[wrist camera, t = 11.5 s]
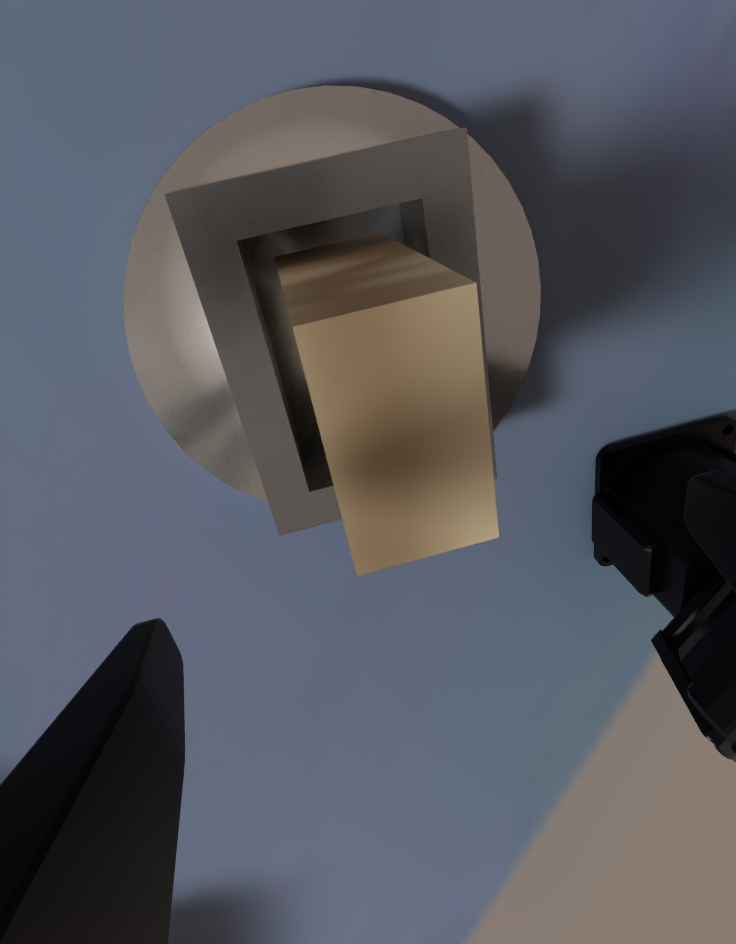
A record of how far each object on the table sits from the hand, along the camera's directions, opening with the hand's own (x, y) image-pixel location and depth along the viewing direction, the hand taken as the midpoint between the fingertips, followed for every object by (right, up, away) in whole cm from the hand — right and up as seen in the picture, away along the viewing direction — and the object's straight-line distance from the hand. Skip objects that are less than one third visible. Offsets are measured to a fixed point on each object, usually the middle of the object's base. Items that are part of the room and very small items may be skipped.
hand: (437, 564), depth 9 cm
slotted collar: (-2, +7, +11) cm, 13 cm away
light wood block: (-2, +6, +10) cm, 12 cm away
